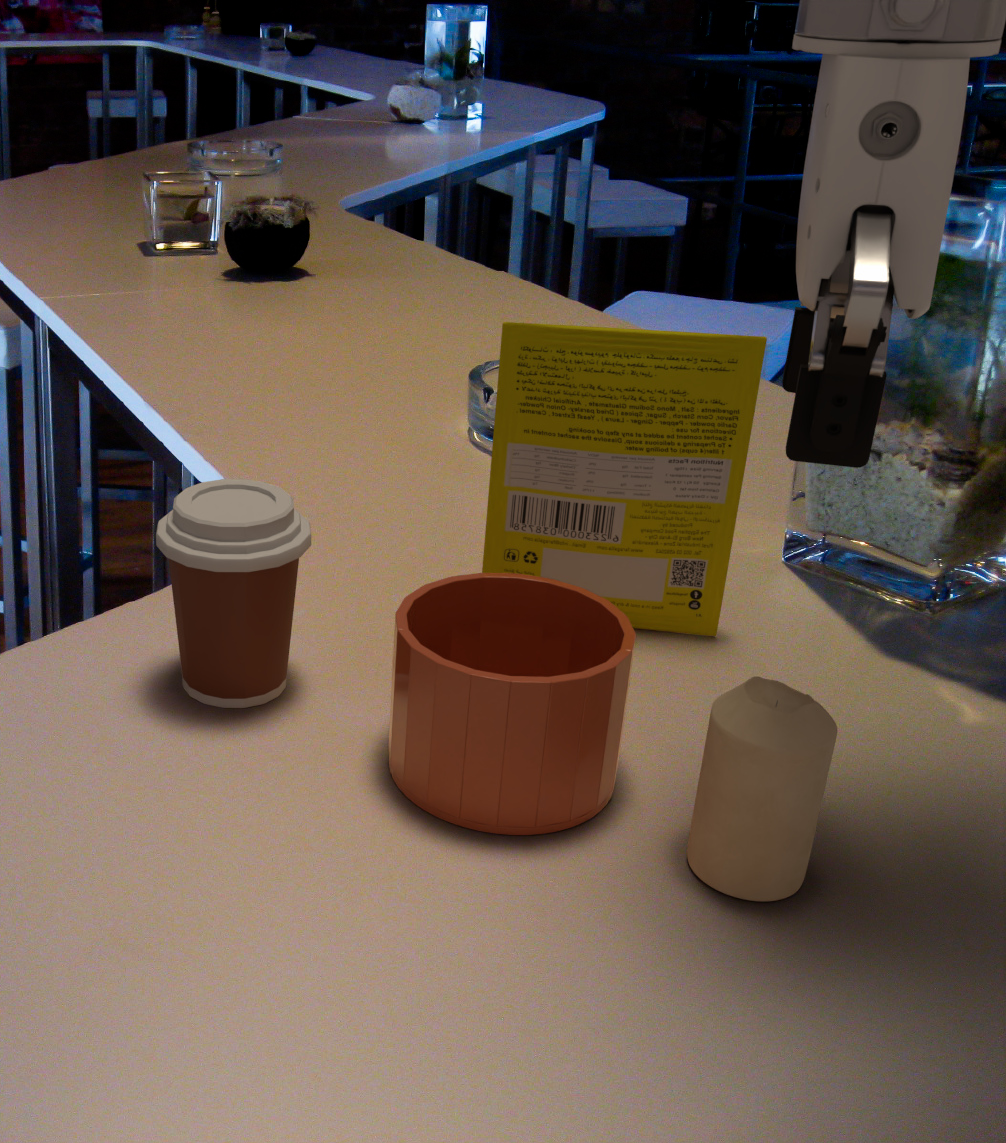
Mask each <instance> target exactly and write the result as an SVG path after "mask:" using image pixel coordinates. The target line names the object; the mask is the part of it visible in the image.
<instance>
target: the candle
mask: <svg viewBox="0 0 1006 1143" xmlns="http://www.w3.org/2000/svg"><path fill="white" fill-rule="evenodd" d="M837 736H838V724H837V723H836V721H835V719H834V718H833V717H832V716H831V714H830V713H829V712H828V710H826V708H824V706H822V705H821V703H819V702H818V701H817V700H815V699H814V698H813V696H811V695H810V694H808V693H806V694H805V693H803V692H801V691H799V690H797V689H794V688H793V687H791V686H789V685H787V684H786V683H784V682H781V681H778V680H775V679H769V678H763V677H761V676H758V675H757V676H752V677H750V678H748V679H747V680H746V681H744V682H743V683H741V684H739V685H737V686H735V687H733V688H732V689H730V690H728V691H726V692H724V693H723V694H721V695H719V696H717V698H715V699H714V701H713V703H712V704H711V709H710V714H709V720H708V724H707V732H706V736H705V743H704V747H703V752H702V753H703V754H702V759H701V765H700V771H699V777H698V782H697V789H696V794H695V800H694V805H693V811H692V818H691V822H690V828H689V833H688V834H689V835H688V841H687V848H686V849H687V850H686V856H687V862H688V864H689V867H690V869H691V871H692V872H693V873H694V875H695V876H697V877H698V878H699V879H700V880H701V881H702V882H703V883H705V884H706V885H708V886H709V887H711V888H712V889H714V890H716V891H717V892H720V893H723V894H725V895H727V896H731V897H733V898H737V899H740V900H745V901H753V902H774V901H775V902H776V901H779V900H780V901H781V900H784V899H787V898H788V897H791V896H793V895H795V894H796V893H797V892H798V891H799V889H801V886H802V885H803V882H804V880H805V878H806V874H807V870H808V866H809V862H810V857H811V853H812V849H813V844H814V839H815V836H816V832H817V831H816V830H817V826H818V821H819V817H820V813H821V809H822V804H823V798H824V795H825V790H826V787H827V781H828V778H829V772H830V768H831V764H832V759H833V755H834V750H835V746H836V741H837Z"/></svg>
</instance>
